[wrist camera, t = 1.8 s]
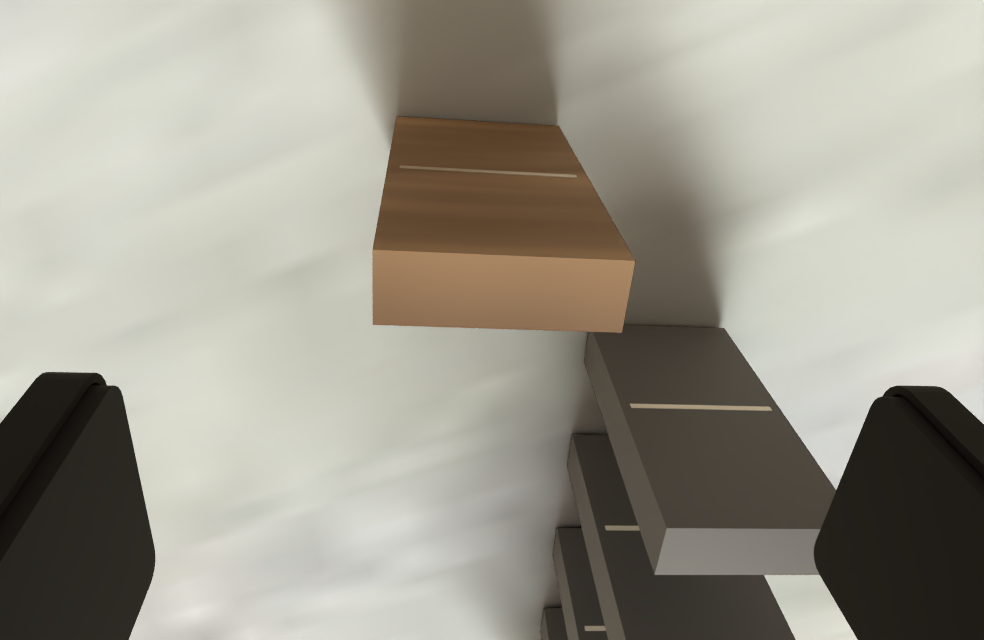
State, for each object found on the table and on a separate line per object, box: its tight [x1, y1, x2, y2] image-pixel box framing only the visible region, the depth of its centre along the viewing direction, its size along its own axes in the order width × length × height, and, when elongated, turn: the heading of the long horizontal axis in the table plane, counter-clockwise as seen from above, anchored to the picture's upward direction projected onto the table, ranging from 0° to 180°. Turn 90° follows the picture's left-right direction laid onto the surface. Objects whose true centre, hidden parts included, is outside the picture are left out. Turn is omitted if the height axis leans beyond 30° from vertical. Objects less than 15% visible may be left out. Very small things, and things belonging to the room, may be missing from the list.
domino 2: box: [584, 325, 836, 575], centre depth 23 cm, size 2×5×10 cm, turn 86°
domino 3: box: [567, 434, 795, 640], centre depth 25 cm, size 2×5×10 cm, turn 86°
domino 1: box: [373, 116, 635, 333], centre depth 19 cm, size 2×5×10 cm, turn 85°
